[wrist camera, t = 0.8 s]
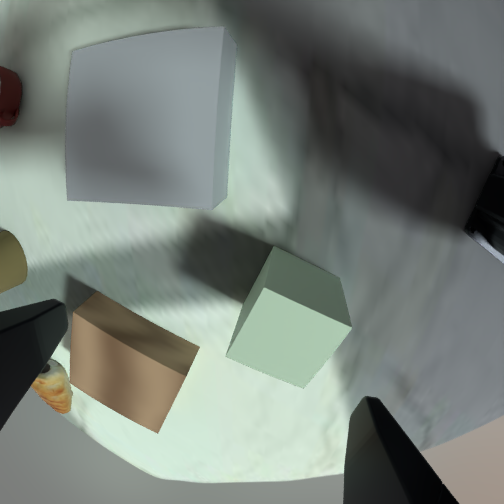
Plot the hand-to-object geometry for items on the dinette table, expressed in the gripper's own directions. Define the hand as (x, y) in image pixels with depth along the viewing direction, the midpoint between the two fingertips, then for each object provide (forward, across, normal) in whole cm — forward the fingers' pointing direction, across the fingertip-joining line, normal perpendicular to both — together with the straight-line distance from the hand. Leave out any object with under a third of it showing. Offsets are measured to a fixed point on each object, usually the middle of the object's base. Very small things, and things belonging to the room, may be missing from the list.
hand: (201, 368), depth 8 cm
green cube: (+13, -3, +4) cm, 14 cm away
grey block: (+13, +8, -6) cm, 17 cm away
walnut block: (+13, +8, +15) cm, 22 cm away
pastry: (+13, +21, +26) cm, 35 cm away
